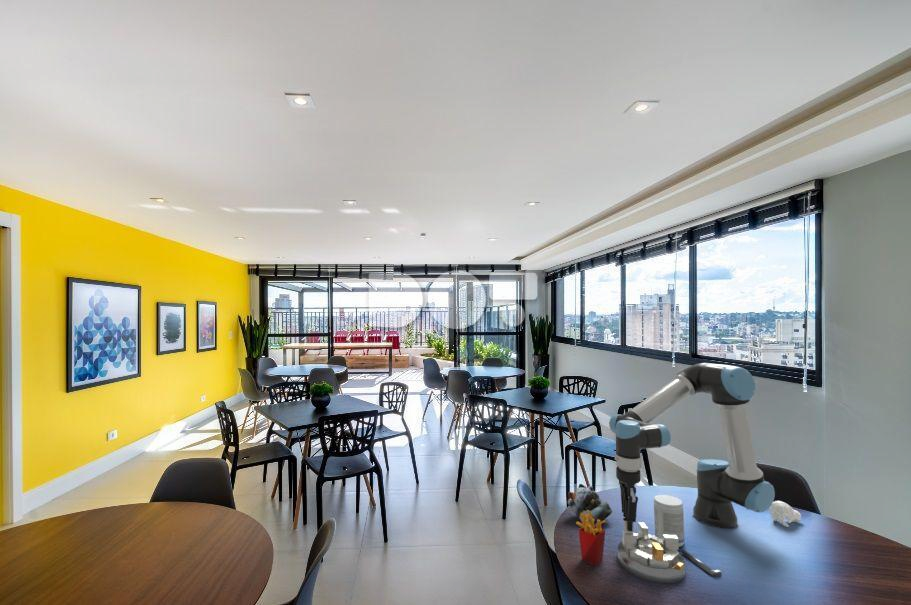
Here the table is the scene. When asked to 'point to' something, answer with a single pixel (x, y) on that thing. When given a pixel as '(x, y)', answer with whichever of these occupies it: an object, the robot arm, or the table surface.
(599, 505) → the lucky cat figurine
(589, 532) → the french fries
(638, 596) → the table surface
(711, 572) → the pin spanner
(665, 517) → the supplement tub
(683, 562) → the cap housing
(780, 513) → the white animal figurine
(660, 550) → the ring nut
